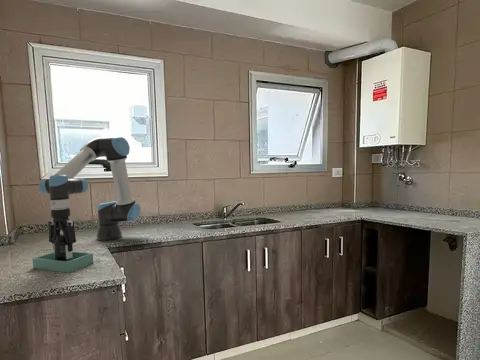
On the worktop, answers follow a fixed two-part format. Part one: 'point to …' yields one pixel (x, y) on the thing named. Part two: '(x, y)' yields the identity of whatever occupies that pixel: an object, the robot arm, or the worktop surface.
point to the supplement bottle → (60, 248)
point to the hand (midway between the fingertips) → (63, 257)
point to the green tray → (63, 262)
